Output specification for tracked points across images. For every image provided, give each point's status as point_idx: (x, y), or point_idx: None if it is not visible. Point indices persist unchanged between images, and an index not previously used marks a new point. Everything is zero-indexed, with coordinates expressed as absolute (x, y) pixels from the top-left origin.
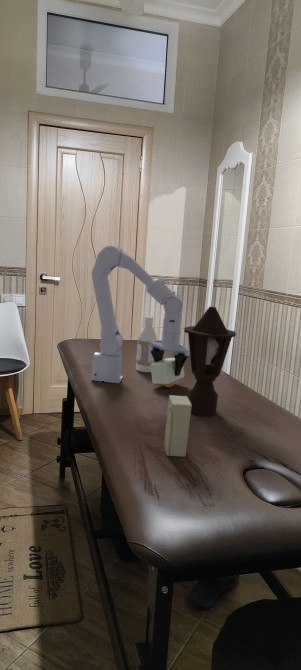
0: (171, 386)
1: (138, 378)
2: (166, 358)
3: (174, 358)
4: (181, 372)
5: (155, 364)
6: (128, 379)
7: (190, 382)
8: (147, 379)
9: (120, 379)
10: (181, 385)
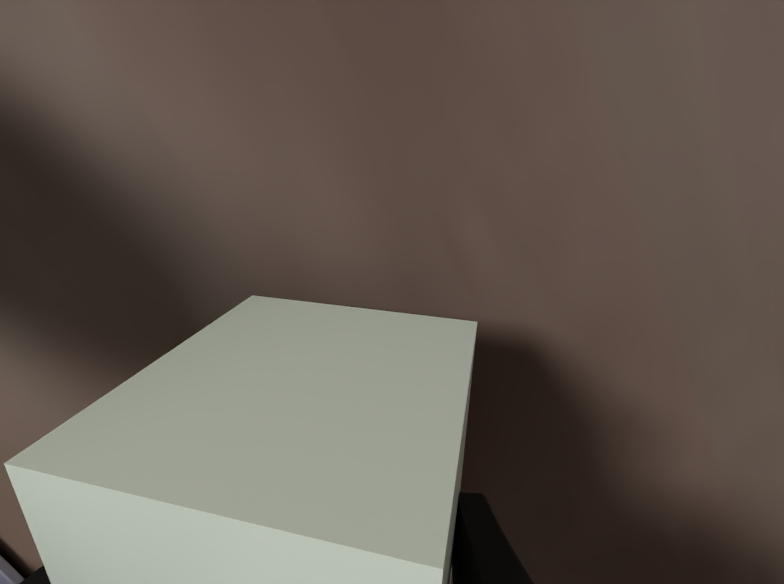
0: None
1: (20, 407)
2: (29, 509)
3: (242, 578)
4: (465, 425)
5: None
6: (5, 489)
7: (469, 107)
8: (91, 374)
9: (6, 581)
10: (444, 303)
